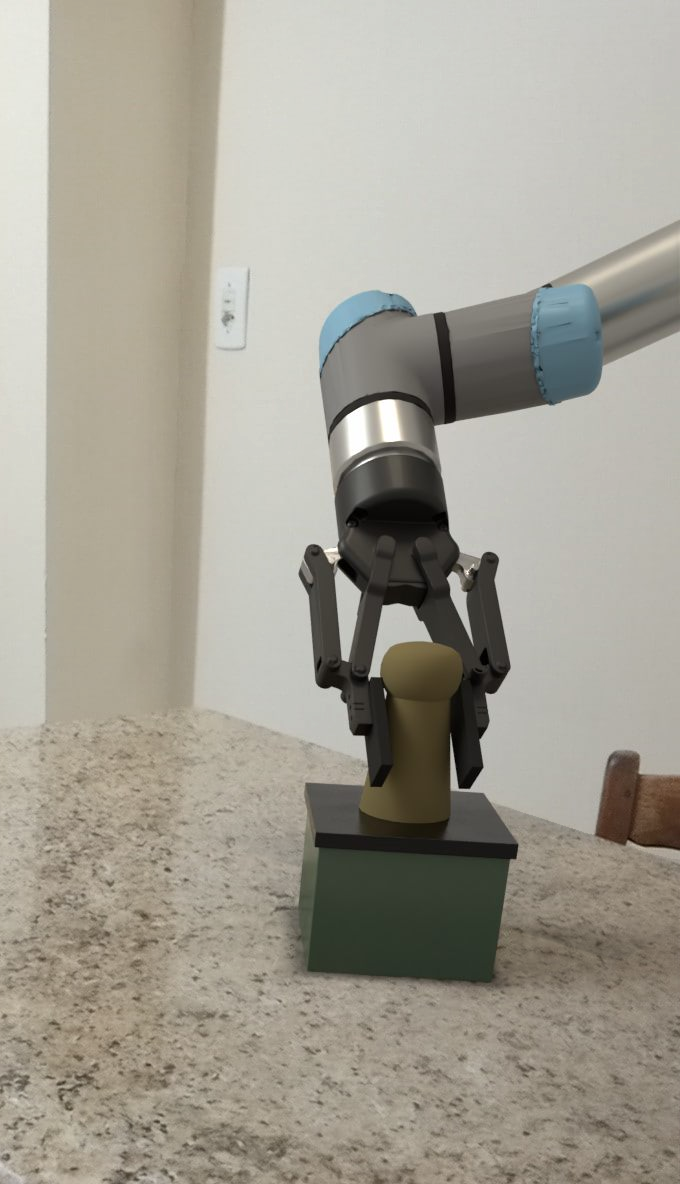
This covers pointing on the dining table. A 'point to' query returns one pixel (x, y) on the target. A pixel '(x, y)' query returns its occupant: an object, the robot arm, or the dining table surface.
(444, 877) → the bin
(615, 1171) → the dining table surface
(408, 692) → the cork
